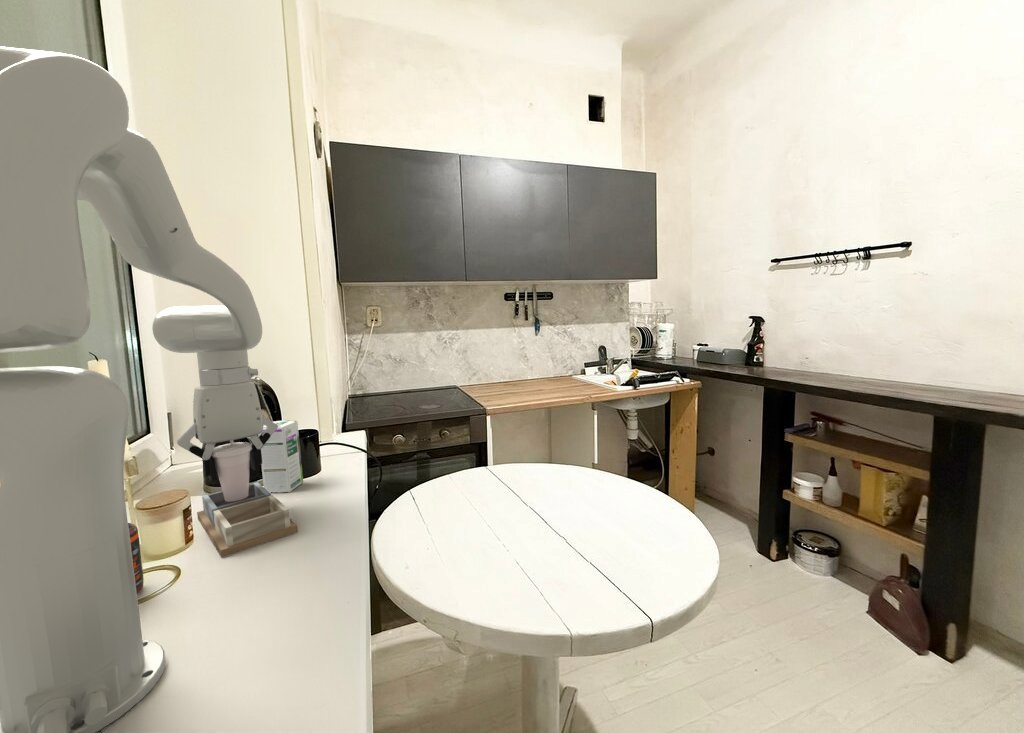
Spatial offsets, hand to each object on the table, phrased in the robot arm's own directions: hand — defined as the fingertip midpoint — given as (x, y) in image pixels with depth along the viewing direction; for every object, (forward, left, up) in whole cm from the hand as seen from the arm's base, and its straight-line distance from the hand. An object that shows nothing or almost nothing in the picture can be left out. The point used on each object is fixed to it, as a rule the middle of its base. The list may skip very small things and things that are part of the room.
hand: (234, 473), depth 79 cm
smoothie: (0, 0, -5) cm, 5 cm away
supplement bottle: (-16, +18, -9) cm, 25 cm away
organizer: (-5, 0, -8) cm, 10 cm away
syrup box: (+9, -10, -9) cm, 16 cm away
